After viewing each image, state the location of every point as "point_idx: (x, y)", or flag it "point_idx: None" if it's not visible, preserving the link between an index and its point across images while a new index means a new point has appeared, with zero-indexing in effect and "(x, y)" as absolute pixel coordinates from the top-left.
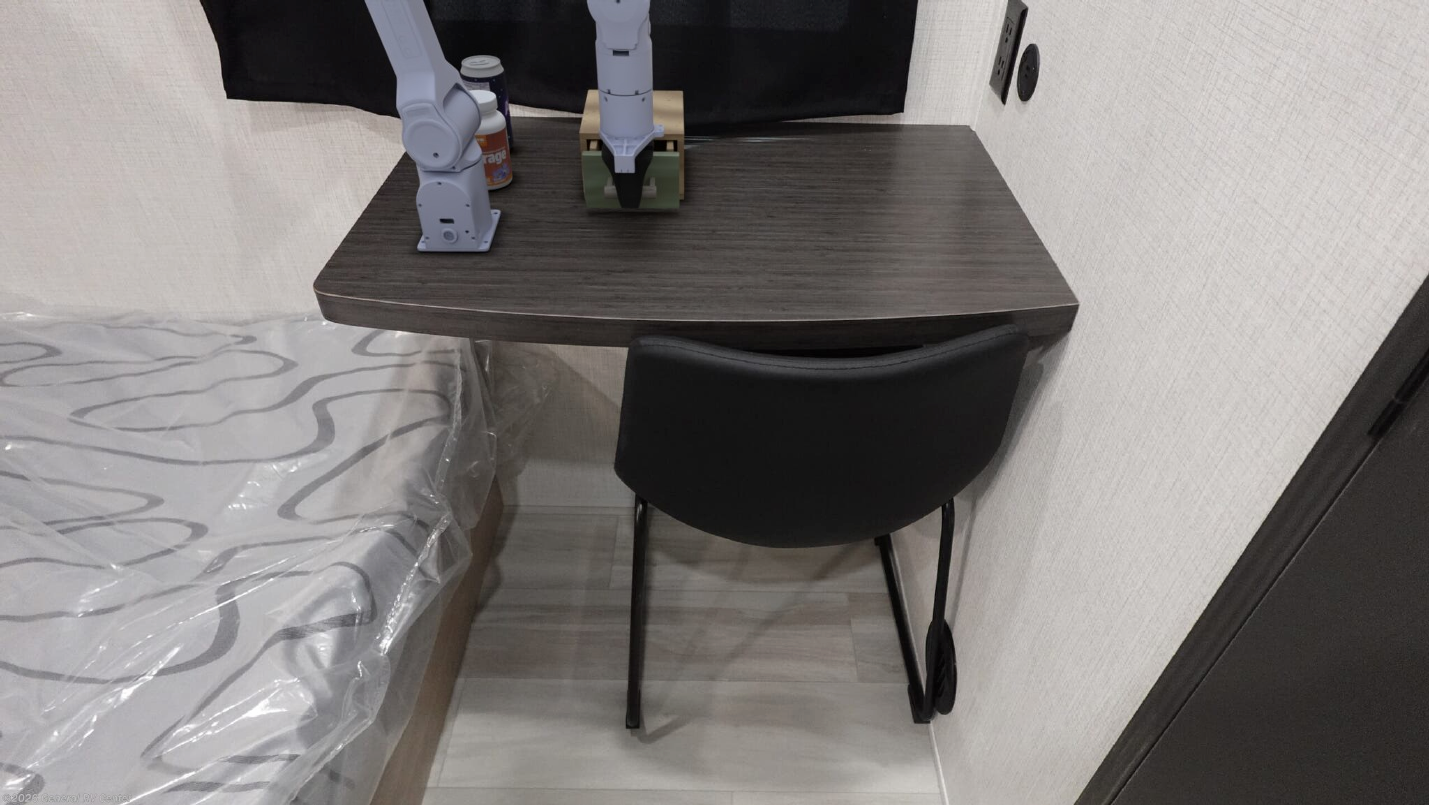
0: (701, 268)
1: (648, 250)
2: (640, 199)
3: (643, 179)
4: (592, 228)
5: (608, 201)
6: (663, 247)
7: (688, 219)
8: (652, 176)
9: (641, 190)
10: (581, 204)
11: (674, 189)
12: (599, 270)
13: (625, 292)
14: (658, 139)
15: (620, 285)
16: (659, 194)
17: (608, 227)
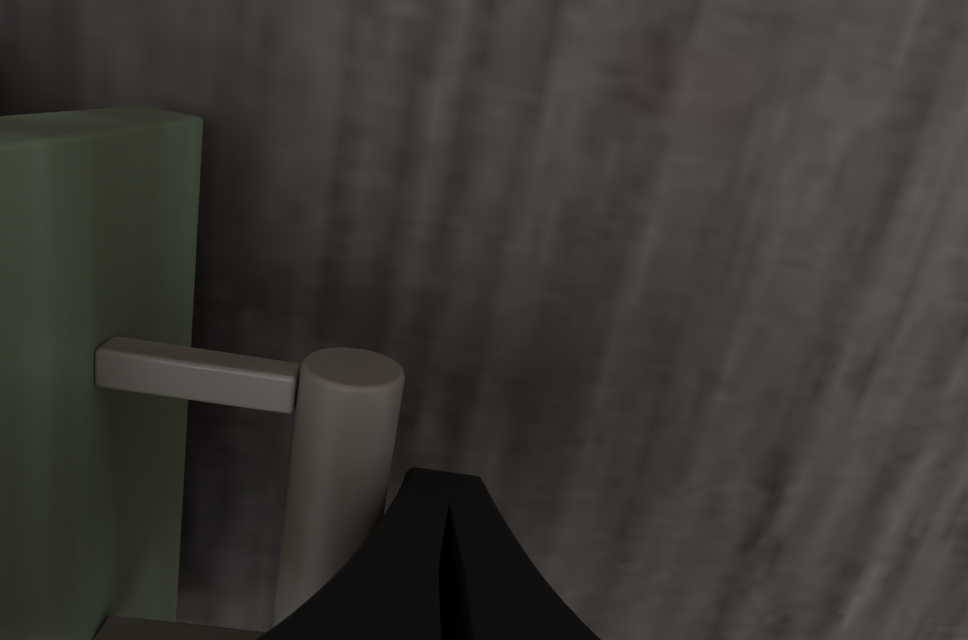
0: (871, 106)
1: (607, 355)
2: (493, 502)
3: (574, 614)
4: None
5: (167, 550)
6: (594, 275)
7: (276, 63)
8: (90, 370)
9: (520, 546)
10: None
11: (144, 165)
12: (731, 579)
13: (945, 498)
14: None
15: (882, 511)
16: (159, 272)
17: None
